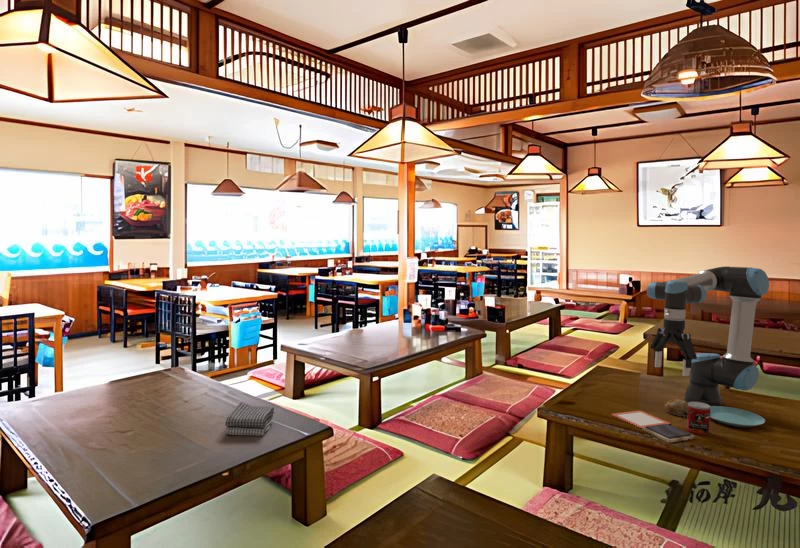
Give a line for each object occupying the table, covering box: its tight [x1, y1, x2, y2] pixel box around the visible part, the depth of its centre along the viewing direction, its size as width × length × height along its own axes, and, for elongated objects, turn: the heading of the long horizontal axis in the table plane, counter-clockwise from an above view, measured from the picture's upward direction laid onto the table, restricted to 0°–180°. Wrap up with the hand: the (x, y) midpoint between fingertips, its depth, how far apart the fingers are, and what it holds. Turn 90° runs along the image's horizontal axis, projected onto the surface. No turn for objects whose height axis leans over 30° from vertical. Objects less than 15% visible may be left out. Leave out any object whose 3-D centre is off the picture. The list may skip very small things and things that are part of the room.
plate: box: [710, 405, 766, 428], centre depth 207 cm, size 22×22×3 cm
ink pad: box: [641, 424, 696, 444], centre depth 191 cm, size 13×13×2 cm
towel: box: [224, 401, 275, 437], centre depth 190 cm, size 15×18×8 cm
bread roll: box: [663, 398, 688, 418], centre depth 215 cm, size 10×10×8 cm
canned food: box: [686, 402, 711, 436], centre depth 194 cm, size 8×8×11 cm
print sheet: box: [610, 409, 672, 429], centre depth 206 cm, size 16×16×1 cm
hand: (671, 371), depth 197 cm, fingers open, 13 cm apart
